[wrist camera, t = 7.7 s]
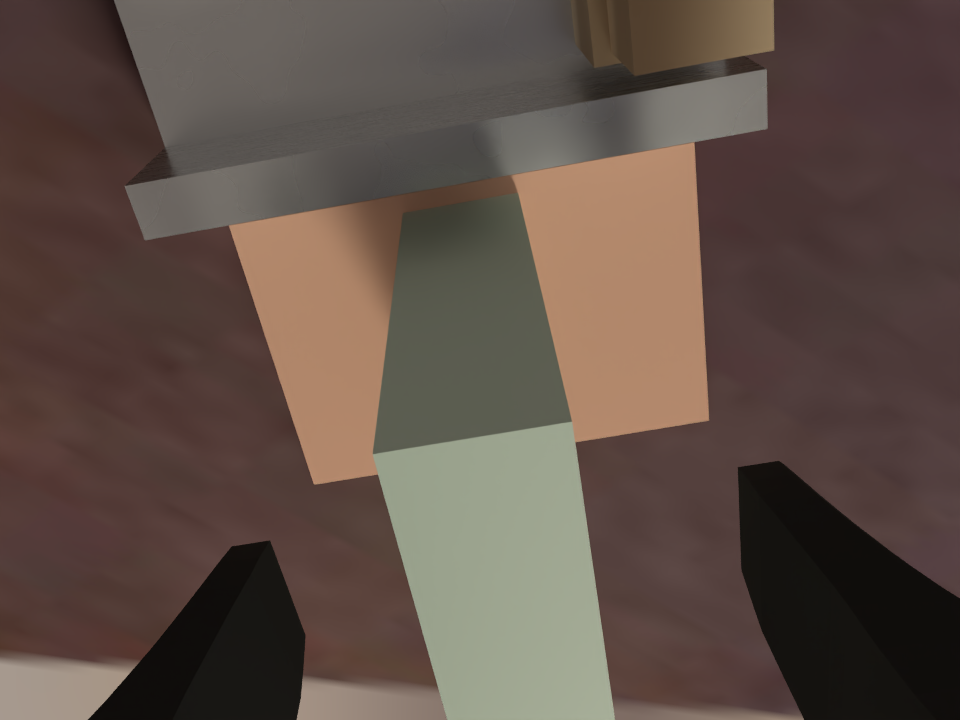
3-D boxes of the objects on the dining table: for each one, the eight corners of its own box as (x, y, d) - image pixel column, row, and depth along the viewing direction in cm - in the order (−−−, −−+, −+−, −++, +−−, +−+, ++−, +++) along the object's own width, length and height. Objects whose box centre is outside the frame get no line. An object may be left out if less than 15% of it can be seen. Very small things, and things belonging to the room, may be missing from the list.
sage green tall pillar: (518, 192, 19) (572, 421, 11) (554, 425, 21) (617, 741, 14) (403, 213, 19) (372, 454, 11) (454, 441, 22) (459, 764, 14)
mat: (690, 138, 18) (694, 142, 18) (705, 414, 22) (709, 420, 22) (232, 221, 19) (228, 225, 19) (315, 477, 22) (314, 484, 22)
